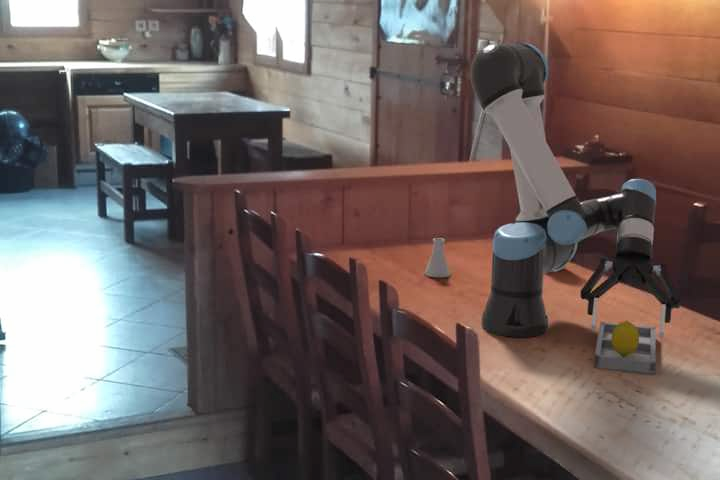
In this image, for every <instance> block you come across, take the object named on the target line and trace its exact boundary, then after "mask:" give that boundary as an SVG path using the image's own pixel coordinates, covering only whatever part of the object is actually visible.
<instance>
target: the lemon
mask: <svg viewBox="0 0 720 480" xmlns="http://www.w3.org/2000/svg"><path fill="white" fill-rule="evenodd" d="M617 324H618V325H617V326H616V327H615V328H614V330H613V333H612V338H611V341H612V346H613V348H614V350H615V351H616V352H617V353H619V354H620V355H621V356H622V357H626V356H627V355H630V354H632V353H633V352H634V351H635V350H636V349H637V347H638V344H639V333H638V330H637V328H636V327H635V326H636V325H635V324H633V323H632V322H630V321H629V320H625V321H622V322H620V323H617ZM634 325H635V326H634Z"/></svg>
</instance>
